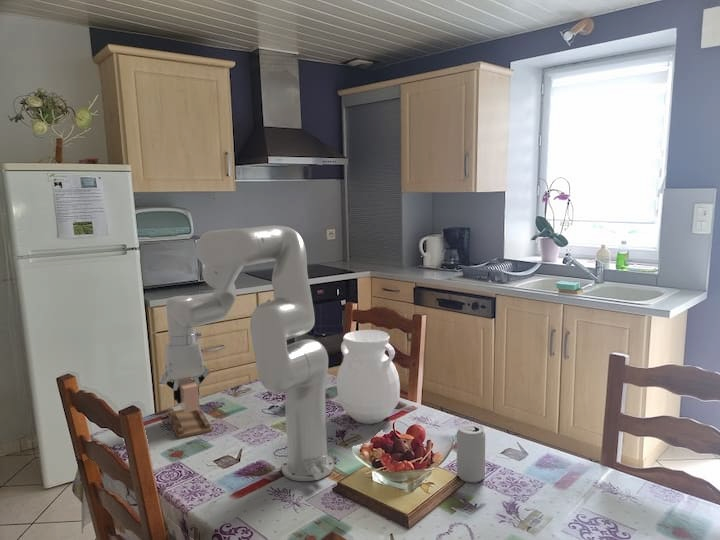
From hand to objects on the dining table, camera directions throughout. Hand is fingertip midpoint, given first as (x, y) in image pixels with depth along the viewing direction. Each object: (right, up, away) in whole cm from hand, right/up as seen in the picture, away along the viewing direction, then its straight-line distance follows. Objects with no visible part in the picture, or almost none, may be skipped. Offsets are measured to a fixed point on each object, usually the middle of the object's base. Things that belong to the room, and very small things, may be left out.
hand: (186, 399), depth 156 cm
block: (0, -1, 0) cm, 1 cm away
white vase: (+53, -6, +2) cm, 53 cm away
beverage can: (+76, -10, -32) cm, 83 cm away
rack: (0, -7, +1) cm, 7 cm away
